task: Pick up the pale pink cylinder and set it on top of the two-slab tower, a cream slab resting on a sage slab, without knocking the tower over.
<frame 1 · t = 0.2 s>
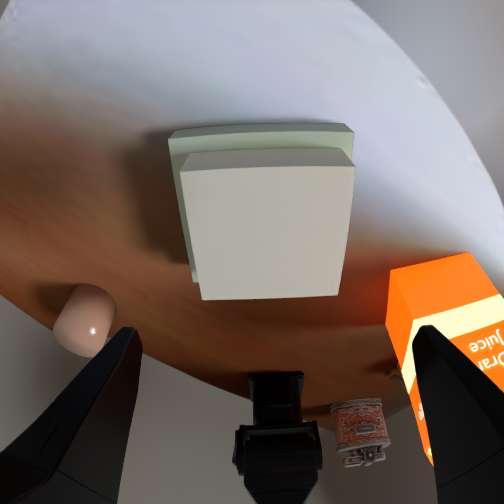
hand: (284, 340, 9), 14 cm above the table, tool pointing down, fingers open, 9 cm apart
pale pink cylinder: (94, 302, 29), on the table
sage slab: (263, 194, 23), on the table, touching cream slab
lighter: (355, 403, 42), on the table
cream slab: (267, 215, 21), point 2 cm above the table, touching sage slab
orange juice: (426, 289, 28), on the table
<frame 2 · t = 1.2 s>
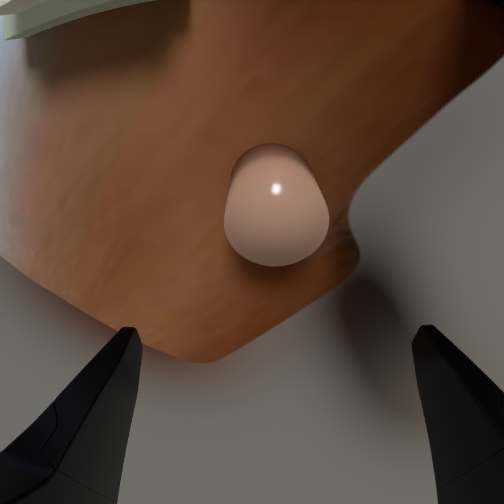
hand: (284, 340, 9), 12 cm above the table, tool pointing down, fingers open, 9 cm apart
pale pink cylinder: (271, 182, 19), on the table
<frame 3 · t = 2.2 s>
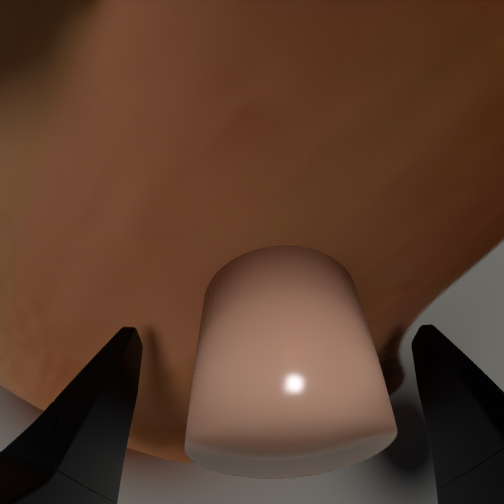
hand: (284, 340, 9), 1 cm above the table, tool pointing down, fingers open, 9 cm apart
pale pink cylinder: (280, 308, 10), on the table
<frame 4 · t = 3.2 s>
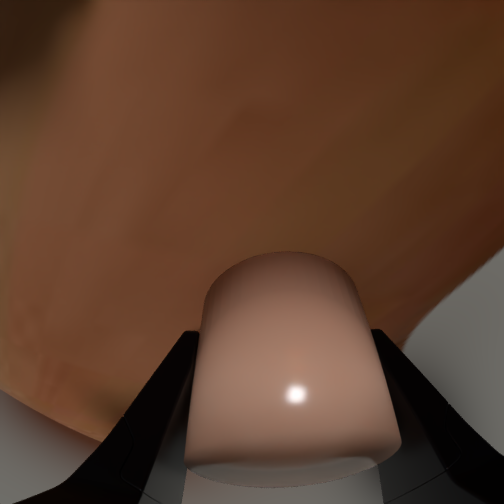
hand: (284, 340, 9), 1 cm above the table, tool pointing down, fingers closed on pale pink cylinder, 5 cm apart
pale pink cylinder: (282, 315, 10), on the table, touching gripper
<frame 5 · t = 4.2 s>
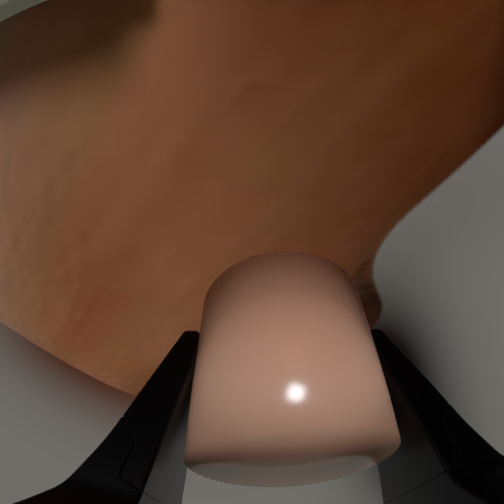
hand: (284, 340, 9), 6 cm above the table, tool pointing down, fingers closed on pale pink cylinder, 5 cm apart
pale pink cylinder: (281, 314, 10), point 5 cm above the table, touching gripper
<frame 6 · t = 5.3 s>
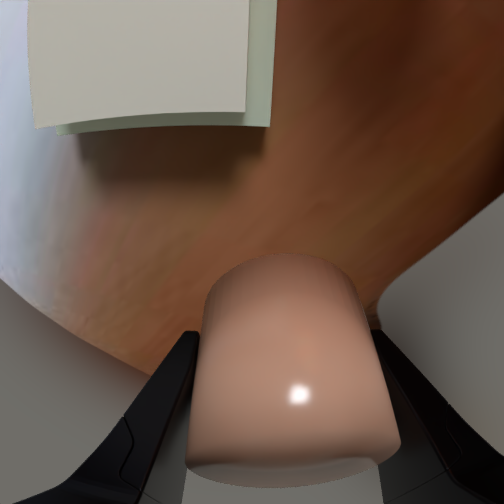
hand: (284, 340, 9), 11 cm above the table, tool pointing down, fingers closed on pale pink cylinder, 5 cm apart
pale pink cylinder: (282, 316, 10), point 10 cm above the table, touching gripper
sage slab: (166, 20, 13), on the table, touching cream slab
cream slab: (147, 12, 10), point 2 cm above the table, touching sage slab
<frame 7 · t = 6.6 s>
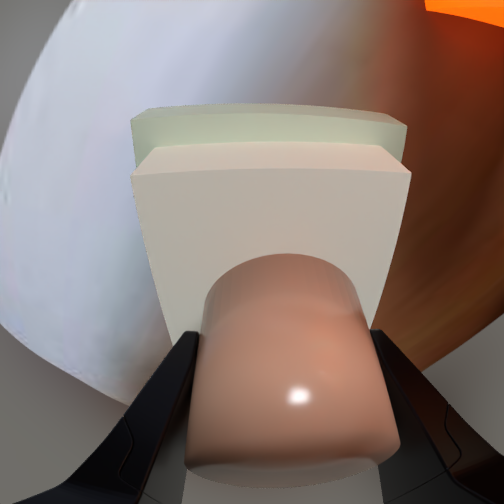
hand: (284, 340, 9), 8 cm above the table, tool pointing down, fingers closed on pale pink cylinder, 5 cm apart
pale pink cylinder: (281, 316, 10), point 7 cm above the table, touching gripper
sage slab: (266, 206, 17), on the table, touching cream slab
cream slab: (269, 239, 14), point 2 cm above the table, touching sage slab
when the fingers open (8 cm above the table, at t = 7.4 s): pale pink cylinder drops 2 cm, resting on cream slab.
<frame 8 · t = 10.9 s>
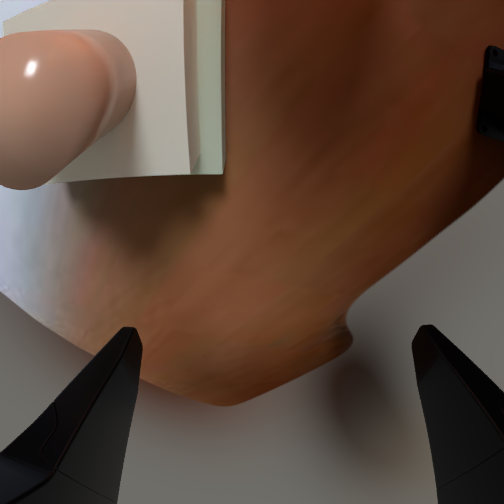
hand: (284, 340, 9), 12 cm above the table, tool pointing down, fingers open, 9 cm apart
pale pink cylinder: (82, 85, 11), point 5 cm above the table, touching cream slab
sage slab: (132, 74, 16), on the table, touching cream slab
cream slab: (110, 76, 13), point 2 cm above the table, touching sage slab, pale pink cylinder
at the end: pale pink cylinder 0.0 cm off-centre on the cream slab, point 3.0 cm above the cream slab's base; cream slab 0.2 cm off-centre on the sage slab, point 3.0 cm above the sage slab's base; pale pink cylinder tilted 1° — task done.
